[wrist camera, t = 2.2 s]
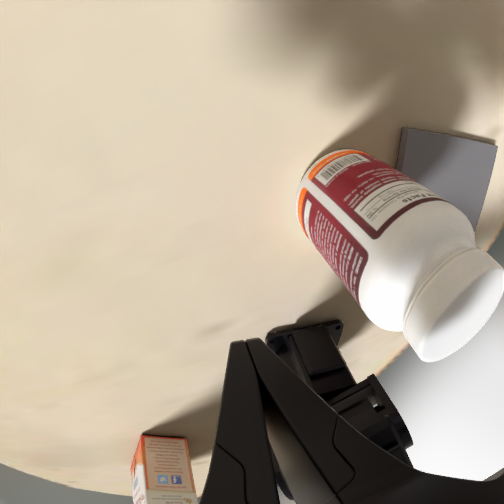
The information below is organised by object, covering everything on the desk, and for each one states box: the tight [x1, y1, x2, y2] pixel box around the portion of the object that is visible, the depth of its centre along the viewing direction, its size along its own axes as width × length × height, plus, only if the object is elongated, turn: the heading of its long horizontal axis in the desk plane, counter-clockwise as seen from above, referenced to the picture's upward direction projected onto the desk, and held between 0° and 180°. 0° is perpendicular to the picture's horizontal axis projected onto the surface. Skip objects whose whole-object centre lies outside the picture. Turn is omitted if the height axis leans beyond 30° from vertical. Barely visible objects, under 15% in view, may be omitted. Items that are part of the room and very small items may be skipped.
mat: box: [396, 128, 498, 231], centre depth 20 cm, size 10×11×1 cm
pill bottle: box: [295, 149, 504, 362], centre depth 14 cm, size 6×6×11 cm
